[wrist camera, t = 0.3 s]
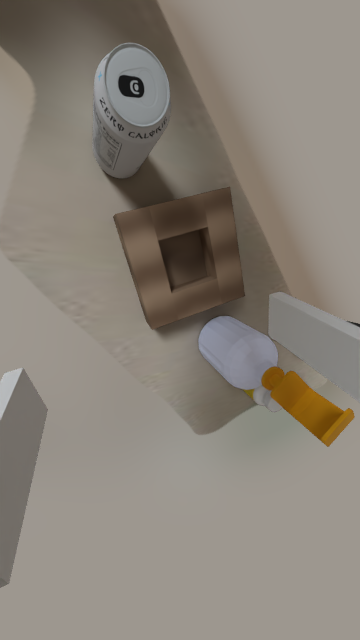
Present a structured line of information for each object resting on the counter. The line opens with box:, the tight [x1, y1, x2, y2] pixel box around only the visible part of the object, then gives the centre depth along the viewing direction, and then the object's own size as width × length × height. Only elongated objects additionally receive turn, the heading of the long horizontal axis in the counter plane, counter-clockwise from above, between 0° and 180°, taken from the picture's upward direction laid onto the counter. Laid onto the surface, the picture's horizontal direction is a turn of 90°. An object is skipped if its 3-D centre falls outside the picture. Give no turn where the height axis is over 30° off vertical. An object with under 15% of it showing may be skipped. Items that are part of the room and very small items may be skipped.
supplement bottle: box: [242, 385, 283, 412], centre depth 45 cm, size 5×5×10 cm
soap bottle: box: [198, 316, 354, 447], centre depth 34 cm, size 9×9×25 cm
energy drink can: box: [93, 43, 171, 178], centre depth 24 cm, size 6×6×15 cm
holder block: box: [113, 187, 245, 330], centre depth 36 cm, size 16×16×4 cm
